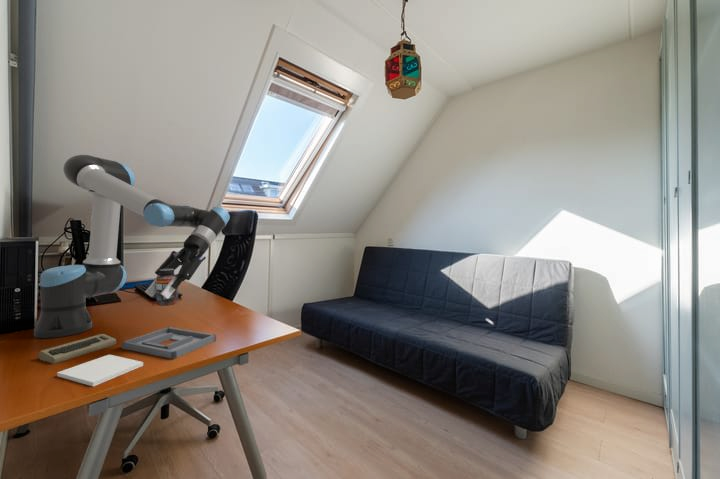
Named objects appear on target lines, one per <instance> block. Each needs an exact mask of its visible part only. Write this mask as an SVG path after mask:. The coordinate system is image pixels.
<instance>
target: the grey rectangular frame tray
mask: <svg viewBox="0 0 720 479" xmlns="http://www.w3.org/2000/svg"><path fill="white" fill-rule="evenodd" d="M170 340H171V341H174V342H171V343H168V344H166V345H165V344H162V343H164V342H167V341H170ZM216 341H217V334H213V333H207V332H201V331H196V330H195V331H194V330H188V329H182V328H177V327H171V326H167V327H164V328H161V329H158V330H155V331H153V332H149V333H146V334H143V335H140V336H136V337H133V338H130V339H127V340H124V341H121V349H123V350H129V351H133V352H137V353H141V354H147V355H152V356H157V357H161V358H165V359H170V360H175V359H177V358H180V357H182V356H184V355H187V354H189V353H191V352H193V351H195V350H198V349H200V348H203V347H205V346H207V345H210V344H212V343H214V342H216Z"/></svg>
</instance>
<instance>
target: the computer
mask: <svg viewBox="0 0 720 479" xmlns="http://www.w3.org/2000/svg"><path fill="white" fill-rule="evenodd" d="M116 345H117V339H116V338H115V337H112V336H110V335H107V334H105V333H100V334H96V335H93V336H89V337H86V338H82V339H79V340H74V341H71V342H67V343H64V344H60V345H57V346H53V347H49V348H45V349H43V350H40V351H39V352H38V359H40V361H42V360H43V361H42V362H46V361H47V362H46V363H49V362H50V364H52V365H56V364H59V363H61V362H64V361H68V360H72V359H73V358H74V359H75V358H77V357H80V356H81V357H82V356H83V355H87V354H90V352H91V353H94V352H97V351H99V350H103V349H106V348H110V347H113V346H116Z"/></svg>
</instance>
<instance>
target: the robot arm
mask: <svg viewBox="0 0 720 479" xmlns="http://www.w3.org/2000/svg"><path fill="white" fill-rule="evenodd" d="M63 172H64V176H65V178H66V179H67V180H68V181H69V182H70V183H71V184H73V185H75V186H77V187H79V188H81V189H83V190H86V191H88V193H89V194H90V195H91V196H92V210H91V221H90V222H91V223H90V235H89V245H88V246H89V247H88V248H89V249H88V257H86V258H85V259H84V260H83V261H82V264H69V265H61V266H55V267H50V268H48V269H45V270H43V271H42V272H41V274H40V279H39V288H40V289H39V290H40V313H39V317H38V318H37V319H38V320H37V322H36V324H35V327H34V329H33V337H34V338H37V339H54V338H62V337H69V336H72V335H77V334H80V333H83V332H87V331H89V330H90V329H92V328H93V320H92V318H91V315H90V314H89V311H88V310H87V307H86V305H87V302H86V298H91V297H96V296H101V295H107V294H111V293H115V292H117V291H119V290H121V288H122V287H123V286H124V285H125V283H126V281H127V270H125V267H124V266H123V265H121V260H119V259H118V258H117V253H118V252H117V251H118V240H119V231H120V230H119V229H120V227H119V226H120V214H121V207H125V208H126V209H128V210H130V211H132V212H134V213H135V214H138V215H140V216H142V217H143V218H144V220H145V221H146V223H147V224H148V225H150V226H153V227H154V226H155V227H159V228H160V227H161V228H163V227H187V228H193V230H192V232H191V233H190V234H189V236H188V237H187V238H186V239H185V240H184V242H183V247H182V248H181V249H180V250H179V251H175V250H172V251H171V253H170V255H169V256H168V257H167V258H166V259H165V260H164V262H163V263H161V264H160V265H159V267H158V268H157V269H156V270H155V271H154V274H155V275H156V278H157V277H158V276H159V275H160V274H159V273H160V270H161V269H174V271H176V270H177V269H178V268H179V267H180V266H181V267H180V268H179V271H178V272H177V274H176V273H175V275H176V276H177V277H173V279H172V280H171V281H170V282H169V284H168V285H167V286H166V287H165V289H164V290H163V291H162V293H161V295H163V296H164V297H165V298H166V299H168V298H169V297H170V296H171V294H172V293H173V292H174V290H175V289H177V288H178V289H179V286H180V285H181V284H182V282H184V281H190V280H191V278H192V277H193V276H194V274H195V272H196V271H197V270H198V268H199V267H200V266H201V264H202V263H203V261H205V260H206V259H207V256H205V253H207V251H208V249H209V247H210V246H211V245H212V244H213V242H214V241H215V240H216V239H217V237H218V235H220V233H221V232H222V231H223V230H224V228H225V227H226V226H227V224H228V223H229V221H230V218H231V216H230V214H229V211H227V210H226V209H225V208H223V207H222V206H219V205H218V206H213V207H212V208H211V209H210V210H206V209H200V208H196V207H193V206H189V205H184V204H183V205H182V204H179V205H174V204H169V203H166V202H165V201H162V200H161V199H159V198H158V197H155V196H153V195H152V194H149V193H147V192H145V191H143V190H141V189H139V188H137V187H135V186H134V185H135V181H136V179H135V174H134V172H133V170H131V169H130V167H129V166H128V165H126V164H124V163H123V162H122V163H121V162H118V161H115V160H111V159H106V158H103V157H102V158H101V157H97V156H94V155H89V154H78V155H74V156H72V157H70V158H68V159H67V160H66V161H65V163H64V164H63ZM156 278H154V280H153V281H152V282H151V284H150V285H149V286H148V288H146V290H145V291H144V293H146V294H147V295H148V296H150V297H151V298H153V297H154V296H155V295H156Z"/></svg>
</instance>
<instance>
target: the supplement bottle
mask: <svg viewBox="0 0 720 479" xmlns="http://www.w3.org/2000/svg"><path fill="white" fill-rule="evenodd" d="M159 274H160V275H159V276H158V275H157V276H158V277H157V276H156V277H157V278H155V279H156V293H155V295H156V305H157V306H160V307H164V306H165V307H169V306H173V305H176V304H178V302H179V287H178V288H177V289H175V290H174V292H173V293H172V294H171V296H170V297H169V298H168V299H166V298H165V297H164V296H163V295H161V293H162V291H163V290H164V289H165V287H166V286H167V285H168V284H169V282H170V281H171V280H172V279H173V277H177V276H176V273H175V270H174V269H161V270H160V273H159Z"/></svg>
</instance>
